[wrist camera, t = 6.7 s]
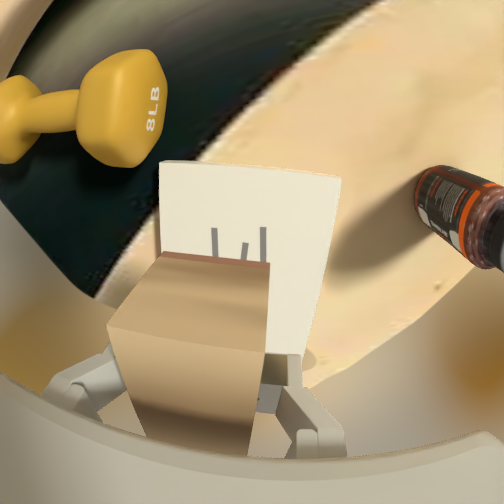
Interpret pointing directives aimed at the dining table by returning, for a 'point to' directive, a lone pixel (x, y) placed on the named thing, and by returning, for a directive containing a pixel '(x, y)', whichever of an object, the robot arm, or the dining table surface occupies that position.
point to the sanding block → (195, 349)
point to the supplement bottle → (464, 213)
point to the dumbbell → (91, 110)
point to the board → (256, 231)
